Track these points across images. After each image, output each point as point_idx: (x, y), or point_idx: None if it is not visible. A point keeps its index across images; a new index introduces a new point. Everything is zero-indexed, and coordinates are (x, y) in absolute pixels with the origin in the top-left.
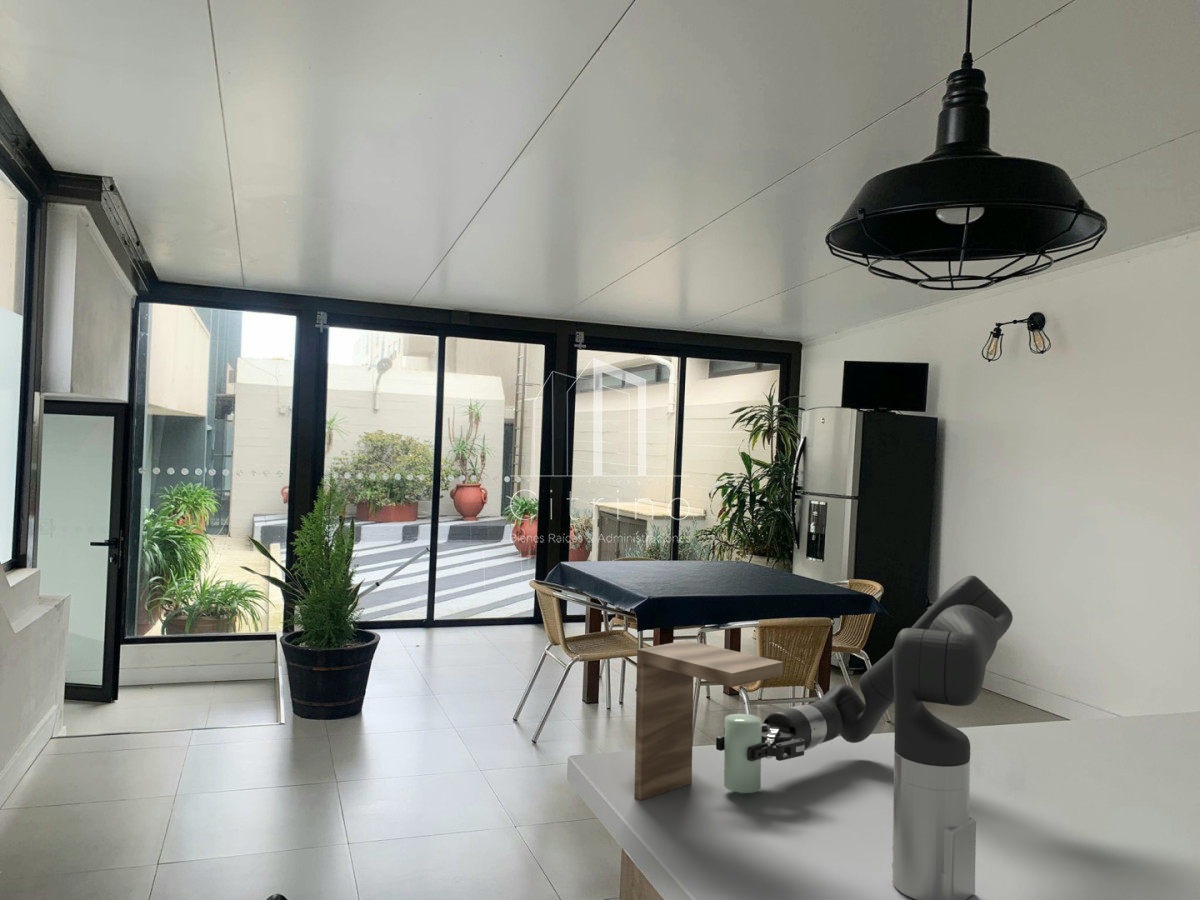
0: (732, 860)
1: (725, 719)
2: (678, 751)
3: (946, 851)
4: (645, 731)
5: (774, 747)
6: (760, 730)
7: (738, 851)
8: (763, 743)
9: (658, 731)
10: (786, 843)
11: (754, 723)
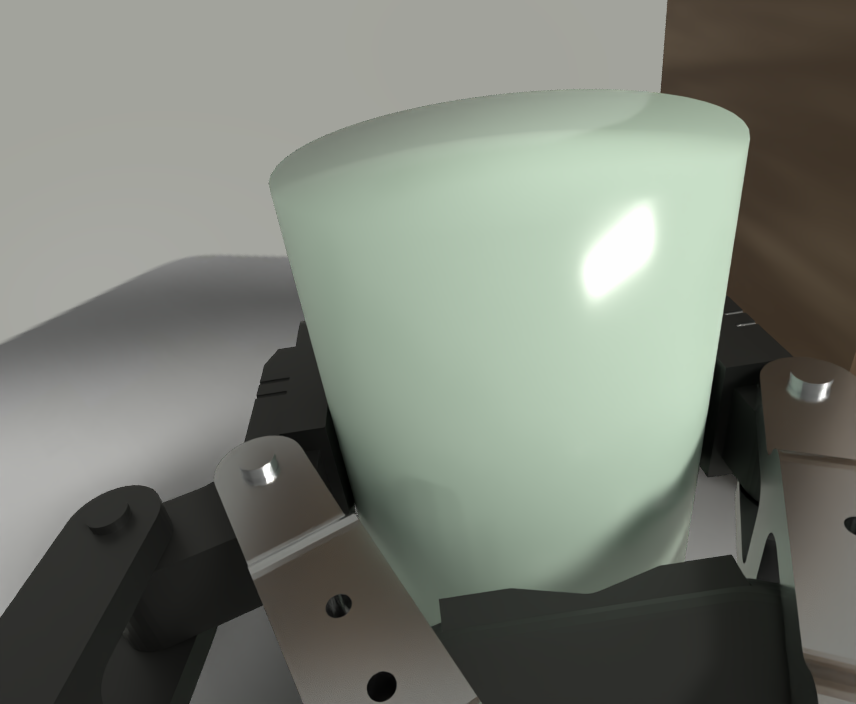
0: (162, 334)
1: (572, 90)
2: (778, 270)
3: None
4: (675, 44)
5: (182, 504)
6: (300, 297)
7: (172, 361)
8: (296, 428)
9: (712, 75)
10: (47, 481)
11: (296, 162)
